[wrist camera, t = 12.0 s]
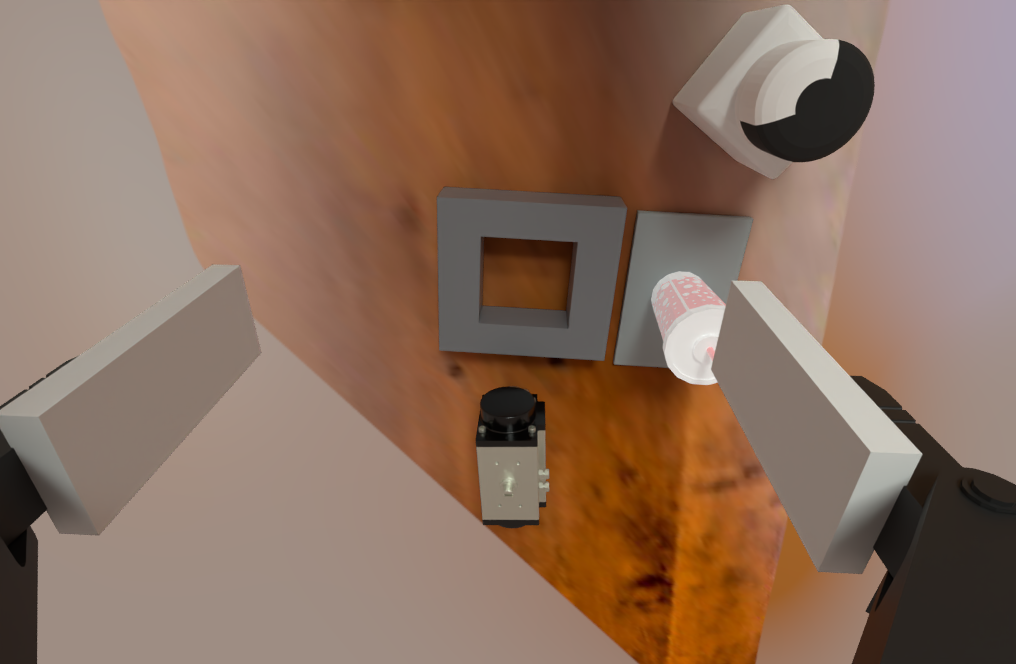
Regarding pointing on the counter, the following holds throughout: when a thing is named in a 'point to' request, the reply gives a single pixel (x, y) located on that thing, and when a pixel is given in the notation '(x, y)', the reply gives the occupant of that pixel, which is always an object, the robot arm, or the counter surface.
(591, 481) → the counter surface
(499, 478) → the pneumatic valve
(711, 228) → the rubber mat
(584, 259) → the socket block
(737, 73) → the medicine bottle
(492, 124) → the counter surface
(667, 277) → the beverage cup
